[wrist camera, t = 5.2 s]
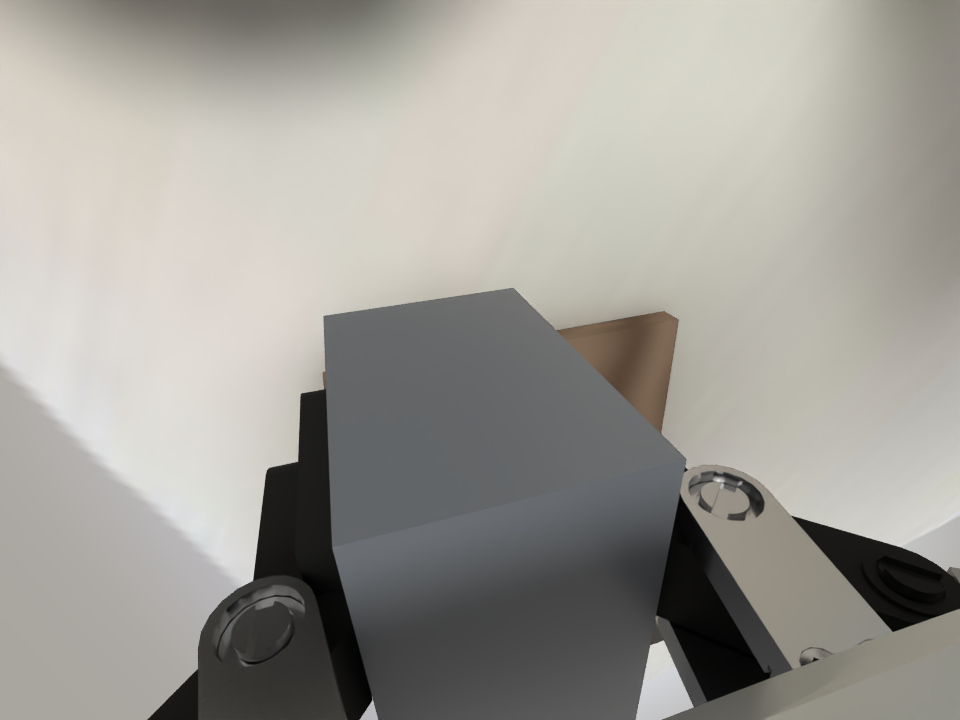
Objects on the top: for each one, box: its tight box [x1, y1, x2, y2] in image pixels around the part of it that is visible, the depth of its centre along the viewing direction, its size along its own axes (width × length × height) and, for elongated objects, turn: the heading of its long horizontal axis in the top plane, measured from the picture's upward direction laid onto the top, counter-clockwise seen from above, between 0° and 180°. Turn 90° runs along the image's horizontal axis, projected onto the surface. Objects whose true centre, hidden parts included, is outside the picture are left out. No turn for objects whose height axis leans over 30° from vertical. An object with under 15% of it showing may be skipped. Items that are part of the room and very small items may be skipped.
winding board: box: [323, 311, 679, 645], centre depth 31 cm, size 22×20×10 cm
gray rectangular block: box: [324, 288, 686, 720], centre depth 9 cm, size 4×6×6 cm, turn 3°
